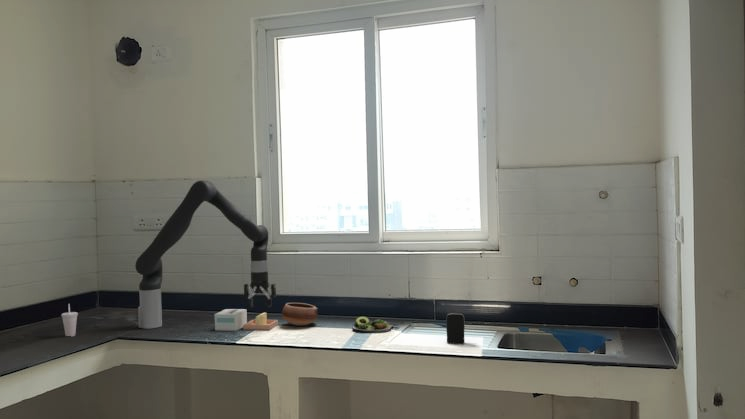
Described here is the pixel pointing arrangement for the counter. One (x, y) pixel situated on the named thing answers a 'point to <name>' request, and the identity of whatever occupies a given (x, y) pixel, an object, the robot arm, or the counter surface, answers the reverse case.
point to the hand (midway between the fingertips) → (260, 307)
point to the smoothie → (69, 322)
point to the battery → (455, 328)
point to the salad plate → (371, 325)
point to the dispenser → (230, 319)
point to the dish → (252, 325)
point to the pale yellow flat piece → (261, 319)
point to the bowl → (299, 313)
